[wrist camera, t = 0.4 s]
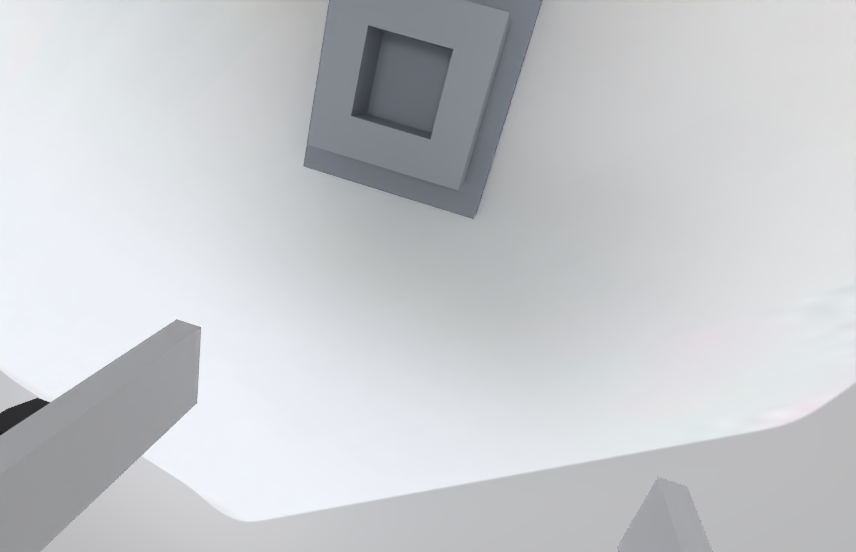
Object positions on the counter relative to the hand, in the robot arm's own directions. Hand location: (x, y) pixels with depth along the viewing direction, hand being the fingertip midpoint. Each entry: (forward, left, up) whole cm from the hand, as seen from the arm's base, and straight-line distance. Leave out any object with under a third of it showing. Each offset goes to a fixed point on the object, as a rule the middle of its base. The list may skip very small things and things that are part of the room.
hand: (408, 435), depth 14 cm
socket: (-8, -8, -27) cm, 29 cm away
